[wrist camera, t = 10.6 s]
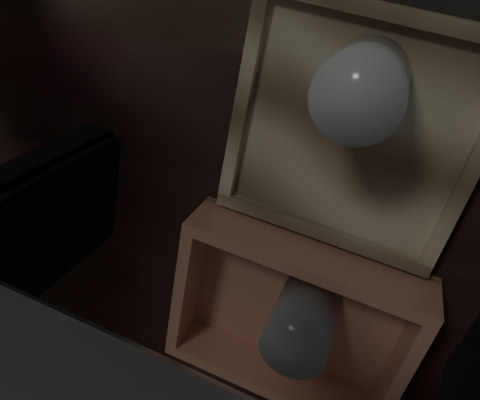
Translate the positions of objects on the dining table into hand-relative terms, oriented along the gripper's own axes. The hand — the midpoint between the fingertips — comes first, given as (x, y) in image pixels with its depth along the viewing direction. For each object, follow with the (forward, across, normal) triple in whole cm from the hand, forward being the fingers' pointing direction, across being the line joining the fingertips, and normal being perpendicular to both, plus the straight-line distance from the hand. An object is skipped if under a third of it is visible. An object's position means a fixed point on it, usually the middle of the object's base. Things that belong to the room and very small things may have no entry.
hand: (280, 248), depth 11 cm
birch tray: (+16, 0, +2) cm, 16 cm away
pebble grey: (+15, 0, -1) cm, 15 cm away
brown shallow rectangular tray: (+16, -1, +15) cm, 22 cm away
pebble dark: (+15, -2, +13) cm, 20 cm away
